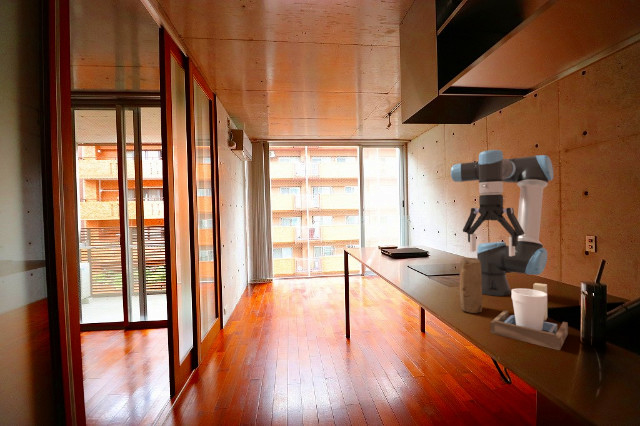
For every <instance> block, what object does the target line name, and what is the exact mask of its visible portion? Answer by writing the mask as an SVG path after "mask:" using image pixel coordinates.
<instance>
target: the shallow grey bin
mask: <svg viewBox="0 0 640 426" xmlns="http://www.w3.org/2000/svg"><path fill="white" fill-rule="evenodd" d="M508 318H509V310H506V309H504V310H503V311H502V312H501V313H499V314H498V315H496V317H495V318H493V319H492V320H491V321H490V328H489V329H490V334H492V335H497V336H500V337H505V338H510V339H513V340H517V341H521V342H525V343H528V344H532V345H537V346H540V347H543V348H544V347H545V348H549V349H553V350H556V351H561V349H562V347H563V345H564V343H565V341H566V338H567V337H568V335H569V325H568V324H569V323H568V322H567V321H566V322H565V321H562V323H561V324H560V327H559V328H558V329H557V333H556V335H555V334H554V333H550V332H549V331H546V330H542V331H541V330H536V329H532V328H527V327H523V326H518V325H516V324H515V323H513V324H509V323H505V321H506V320H507V319H508Z"/></svg>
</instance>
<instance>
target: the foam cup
mask: <svg viewBox="0 0 640 426" xmlns="http://www.w3.org/2000/svg"><path fill="white" fill-rule="evenodd" d="M511 300H512V306H513V312H514V315H515V320H516V324H515V325H518V326H523V327H527V328H532V329H536V330H541V331H543V330H542V328H543V321H544V322H545V320H544V315H545V309H546V303H547V304H548V293H547V294H546V293H544V292H542V291H538V290H533V288H512V289H511Z"/></svg>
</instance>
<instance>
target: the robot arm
mask: <svg viewBox="0 0 640 426" xmlns="http://www.w3.org/2000/svg"><path fill="white" fill-rule="evenodd" d="M503 155H504V154H503V151H502V150H500V149H490V150H484V151H480V153H479V154H478V161H472V162H470V161H469V162H460V163H456V164H453V165H452V166H451V168H450V178H451V179H452V180H451V181H453V182H455V183H456V182H457V183H459V182H460V183H462V182H474V181H478V193H479V194H480V195H479V197H478V198H479V199H478V200H479V201H478V204H479V208H478V207H471V208H470V212H469V213H470V214H469V215H468V218H467V220H466V222H465V224H464V226H463V228H462V232H463V233H466V234H467V241H468V243H469V250H470V251H469V252H471V253H473V252H476V254H477V255H476V257H477V259H479V260H480V262H481V275H482V295H488V296H493V297H494V296H497V297H498V296H500V297H501V296H504V297H505V296H509V295H510V294H511V287H510V283H509V282H508V279H507V275H506V273H507V272H510V273H516V274H525V275H528V276H529V275H534V276H535V275H536V276H538V275H540V274H542V273H543V271H544V270H545V268H546V266H547V265H546V264H547V261H548V250H547V248H545V247H544V245H543V243H542V242H541V241H540V230H541V220H542V210H543V209H542V206H543V195H544V189H545V188H546V187H547V186H548V185H549V182H551V181H553V179H554V175H555V173H554V167H553V163H552V160H551V158H550V157H549V156H548V155H545V154H542V155H541V154H540V155H539V154H537V155H532V156H524V157H523V156H522V157H513V158H504V156H503ZM504 183H507V184H508V183H513V184H514V183H515V184H516V185H517V186H518V188H520V191H519V200H518V212H517V217H516V214H515V212H514V208H513V207H506V208H504V195H503V193H504ZM478 213H479V214H480V215H479V217H478V218H477V220H476V221H475V219H476V217H477V215H478ZM504 213H505V215H507V218H508V220H509V221H510V223H509V222H508V221H507V219H506V217H504ZM485 221H497V222H498V223H500V225H501V226H503V228H504V229H505V230H506V232H508V234H509V235H510V236H509V237H508V245H507V244H506V242H505V241H493V242H483V243H480V244H478V245H477V234H476V233H475V232H476V231H477V230H478V229H479V227H480V226H482V224H483V222H485Z"/></svg>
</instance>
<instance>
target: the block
mask: <svg viewBox="0 0 640 426" xmlns="http://www.w3.org/2000/svg"><path fill="white" fill-rule="evenodd" d="M459 303H460V309H461V310H462V311H463V312H465V313H471V314H478V313H482V311H483V294H482V275H481V262H480V260H479V259H477V258H476V257H462V258H461V259H460V261H459Z"/></svg>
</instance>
